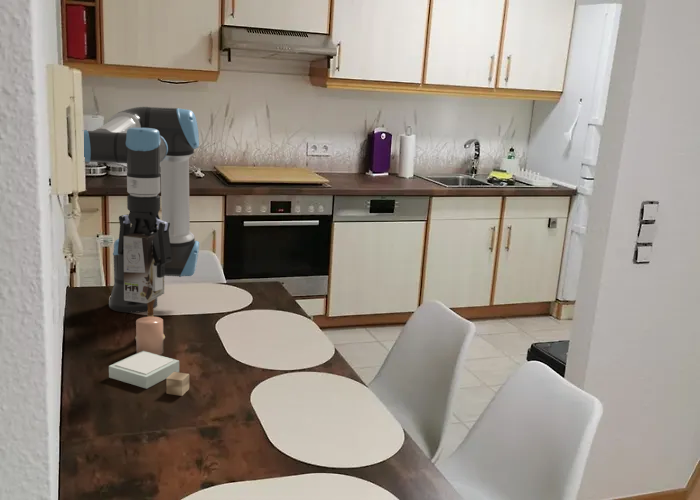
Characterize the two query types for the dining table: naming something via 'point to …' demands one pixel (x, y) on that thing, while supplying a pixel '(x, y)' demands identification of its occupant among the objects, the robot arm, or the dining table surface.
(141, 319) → the peach upright cylinder
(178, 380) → the beech block
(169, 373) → the podium
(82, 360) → the dining table surface
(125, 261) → the coffee box
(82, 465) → the dining table surface
